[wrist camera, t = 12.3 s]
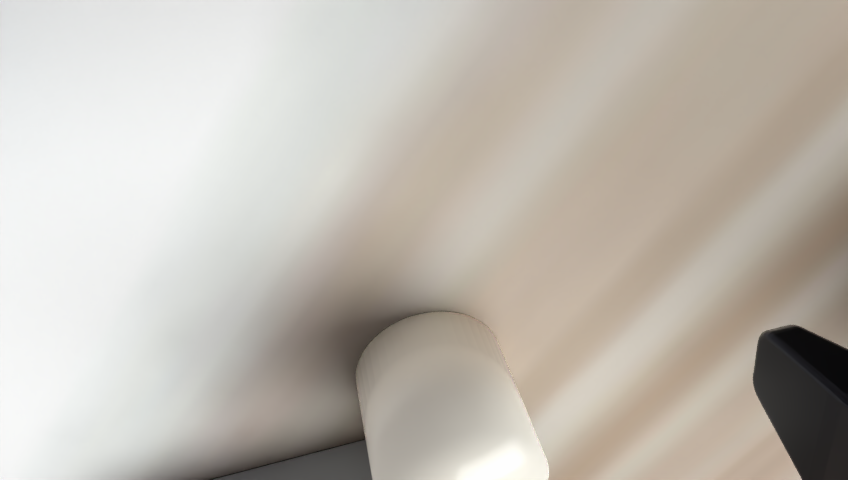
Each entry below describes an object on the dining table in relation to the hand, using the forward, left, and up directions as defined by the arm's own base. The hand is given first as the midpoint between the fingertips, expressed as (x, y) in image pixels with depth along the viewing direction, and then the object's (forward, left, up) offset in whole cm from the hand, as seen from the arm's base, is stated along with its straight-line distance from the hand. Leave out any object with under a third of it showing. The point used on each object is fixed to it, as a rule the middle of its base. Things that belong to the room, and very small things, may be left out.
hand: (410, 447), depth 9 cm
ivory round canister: (-1, +11, -12) cm, 16 cm away
